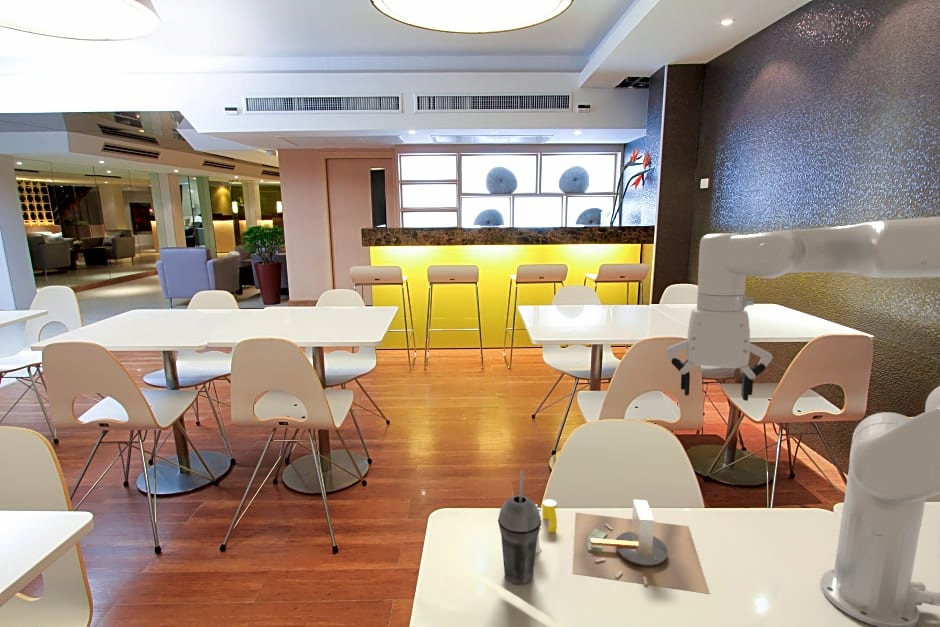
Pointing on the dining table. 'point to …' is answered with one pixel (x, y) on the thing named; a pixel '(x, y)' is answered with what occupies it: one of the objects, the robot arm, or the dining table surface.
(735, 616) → the dining table surface
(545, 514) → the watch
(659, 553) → the dial
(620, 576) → the board
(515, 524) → the beverage cup
